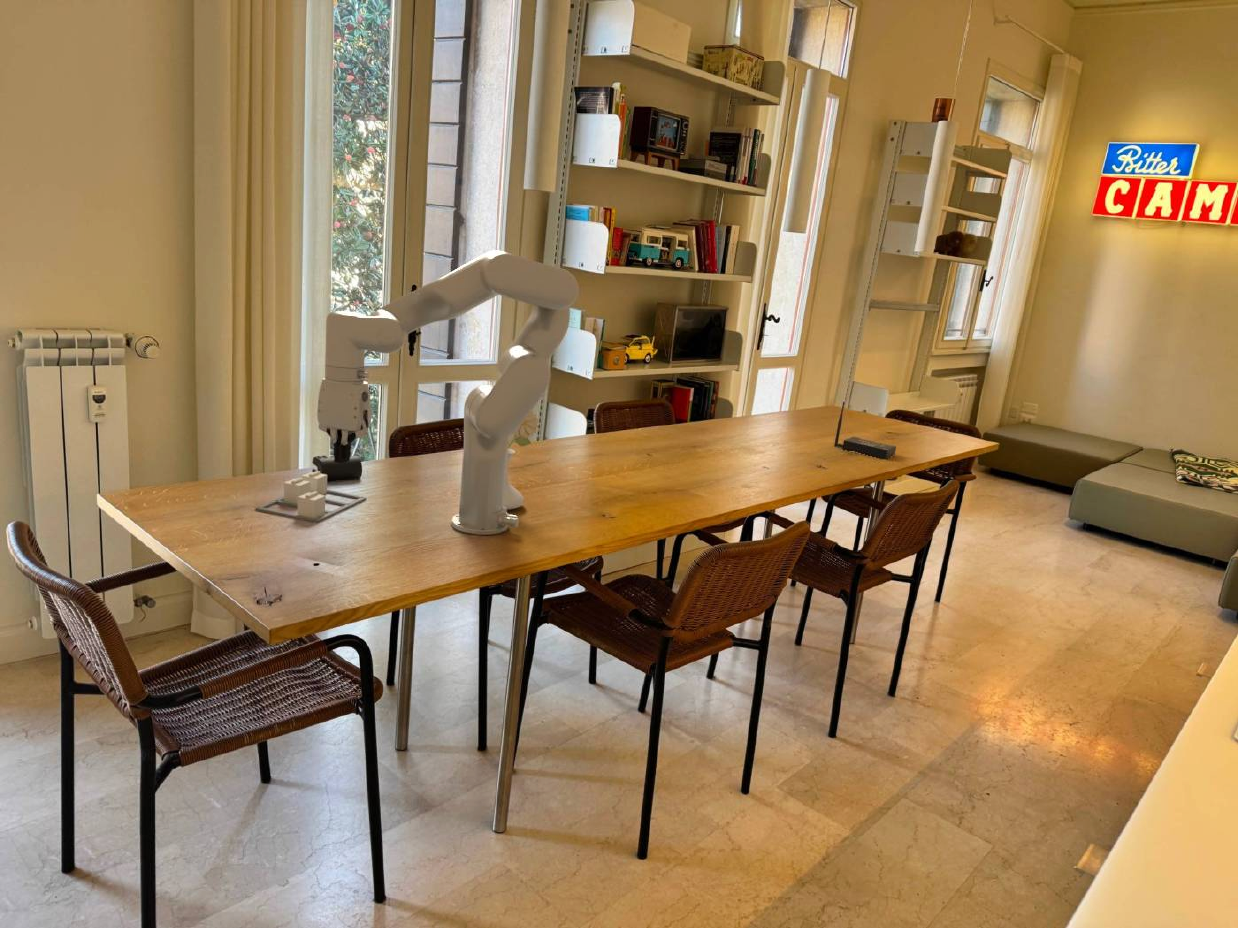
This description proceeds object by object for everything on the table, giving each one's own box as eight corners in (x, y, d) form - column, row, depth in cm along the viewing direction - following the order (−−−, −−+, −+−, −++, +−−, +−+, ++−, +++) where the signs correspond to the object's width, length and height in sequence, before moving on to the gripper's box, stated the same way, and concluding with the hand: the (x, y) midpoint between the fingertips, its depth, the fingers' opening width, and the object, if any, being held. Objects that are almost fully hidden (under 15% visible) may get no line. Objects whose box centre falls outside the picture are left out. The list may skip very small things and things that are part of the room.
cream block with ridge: (310, 500, 194) (310, 479, 192) (299, 505, 190) (300, 483, 189) (294, 497, 195) (294, 475, 193) (283, 501, 191) (284, 480, 190)
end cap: (322, 489, 206) (322, 462, 205) (310, 481, 212) (311, 454, 210) (362, 485, 213) (363, 458, 211) (349, 477, 218) (350, 451, 216)
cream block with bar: (326, 493, 200) (327, 472, 199) (316, 497, 196) (317, 476, 195) (311, 490, 201) (311, 469, 200) (301, 494, 197) (301, 473, 196)
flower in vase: (479, 513, 202) (486, 408, 196) (473, 498, 213) (480, 397, 206) (534, 514, 206) (543, 411, 200) (526, 499, 217) (535, 401, 210)
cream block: (324, 515, 186) (325, 493, 185) (314, 520, 182) (314, 497, 181) (308, 511, 187) (308, 489, 185) (297, 516, 183) (297, 494, 182)
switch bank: (368, 505, 199) (368, 497, 198) (319, 529, 181) (319, 521, 181) (291, 489, 204) (291, 482, 203) (236, 511, 186) (236, 503, 185)
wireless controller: (895, 456, 316) (905, 409, 312) (883, 461, 305) (893, 414, 300) (843, 443, 326) (851, 398, 322) (829, 448, 315) (838, 402, 311)
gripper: (387, 377, 177) (383, 463, 182) (323, 366, 181) (321, 451, 185) (367, 382, 170) (363, 472, 175) (300, 370, 174) (299, 459, 178)
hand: (341, 461), depth 180 cm, fingers closed
